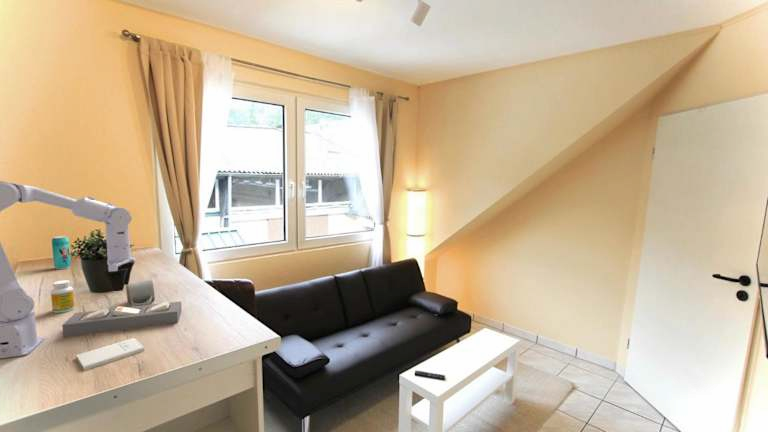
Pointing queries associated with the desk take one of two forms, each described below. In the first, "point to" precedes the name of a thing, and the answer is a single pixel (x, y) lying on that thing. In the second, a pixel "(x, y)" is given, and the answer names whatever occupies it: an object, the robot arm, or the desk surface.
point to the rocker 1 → (96, 314)
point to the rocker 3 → (159, 307)
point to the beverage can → (61, 252)
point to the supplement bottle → (62, 297)
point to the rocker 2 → (125, 311)
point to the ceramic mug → (140, 292)
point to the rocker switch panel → (121, 320)
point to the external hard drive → (109, 353)
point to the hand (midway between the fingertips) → (121, 287)
